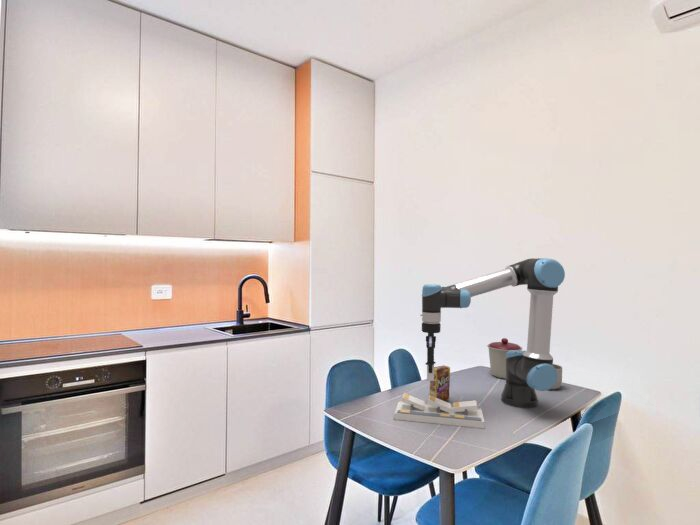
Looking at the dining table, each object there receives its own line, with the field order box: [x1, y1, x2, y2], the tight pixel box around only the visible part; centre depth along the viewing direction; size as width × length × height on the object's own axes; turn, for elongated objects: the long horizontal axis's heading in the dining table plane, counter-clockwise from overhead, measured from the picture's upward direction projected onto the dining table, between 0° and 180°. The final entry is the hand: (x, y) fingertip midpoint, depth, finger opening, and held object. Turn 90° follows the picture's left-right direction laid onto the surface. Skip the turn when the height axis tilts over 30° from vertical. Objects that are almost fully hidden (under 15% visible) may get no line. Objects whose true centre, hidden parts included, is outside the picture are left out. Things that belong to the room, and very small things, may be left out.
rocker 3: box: [453, 400, 479, 412], centre depth 164 cm, size 9×7×2 cm
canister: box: [486, 337, 523, 380], centre depth 226 cm, size 18×18×21 cm
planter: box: [548, 363, 563, 391], centre depth 207 cm, size 12×12×11 cm
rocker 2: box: [427, 395, 452, 413], centre depth 166 cm, size 9×7×2 cm
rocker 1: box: [400, 392, 426, 410], centre depth 169 cm, size 9×7×2 cm
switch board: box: [393, 401, 485, 429], centre depth 166 cm, size 34×14×4 cm, turn 77°
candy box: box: [428, 365, 451, 402], centre depth 185 cm, size 9×4×15 cm, turn 123°
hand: (430, 380), depth 167 cm, fingers closed
